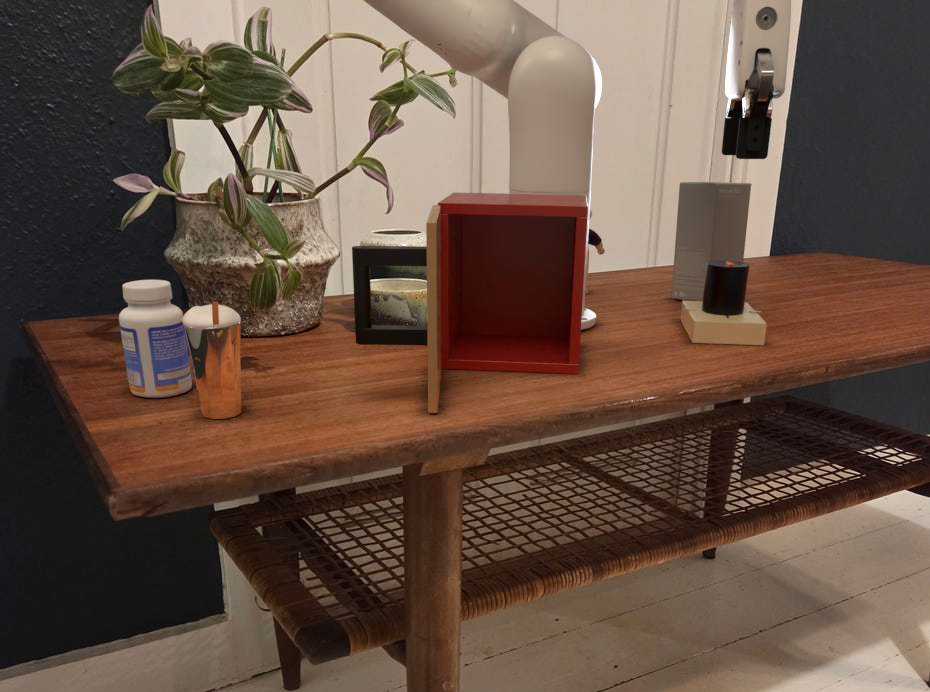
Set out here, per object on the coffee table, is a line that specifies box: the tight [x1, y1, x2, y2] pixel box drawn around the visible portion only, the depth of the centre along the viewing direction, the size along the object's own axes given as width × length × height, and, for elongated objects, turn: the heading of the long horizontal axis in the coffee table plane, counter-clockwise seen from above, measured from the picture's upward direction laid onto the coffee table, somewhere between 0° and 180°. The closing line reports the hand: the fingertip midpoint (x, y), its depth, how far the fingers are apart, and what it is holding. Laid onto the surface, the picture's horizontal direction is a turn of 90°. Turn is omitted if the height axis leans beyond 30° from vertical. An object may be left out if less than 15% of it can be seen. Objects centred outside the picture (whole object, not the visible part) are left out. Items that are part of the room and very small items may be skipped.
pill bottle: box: [118, 279, 193, 399], centre depth 79 cm, size 5×5×10 cm
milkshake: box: [182, 301, 242, 420], centre depth 72 cm, size 4×5×10 cm
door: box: [351, 204, 443, 414], centre depth 78 cm, size 7×14×16 cm, turn 1°
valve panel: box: [680, 300, 768, 346], centre depth 105 cm, size 12×9×3 cm
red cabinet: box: [437, 192, 588, 375], centre depth 90 cm, size 12×14×16 cm
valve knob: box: [702, 261, 750, 315], centre depth 103 cm, size 5×5×6 cm
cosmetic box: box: [670, 181, 752, 301], centre depth 121 cm, size 8×7×16 cm
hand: (743, 156), depth 98 cm, fingers open, 9 cm apart
